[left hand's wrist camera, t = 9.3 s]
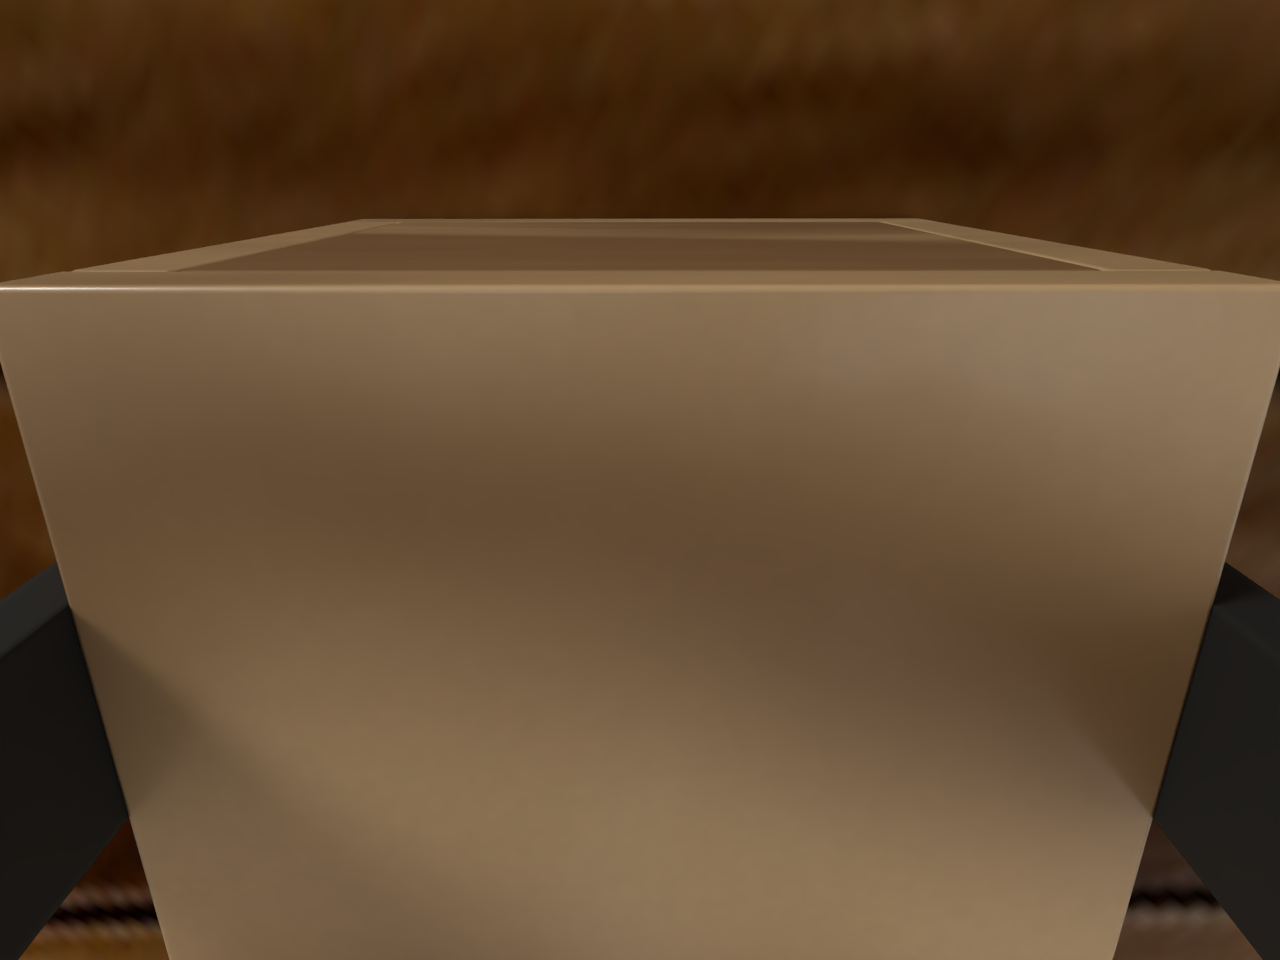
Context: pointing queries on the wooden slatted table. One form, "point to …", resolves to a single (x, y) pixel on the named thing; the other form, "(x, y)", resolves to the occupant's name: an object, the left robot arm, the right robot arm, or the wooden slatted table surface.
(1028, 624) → the cabinet
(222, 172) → the wooden slatted table surface
